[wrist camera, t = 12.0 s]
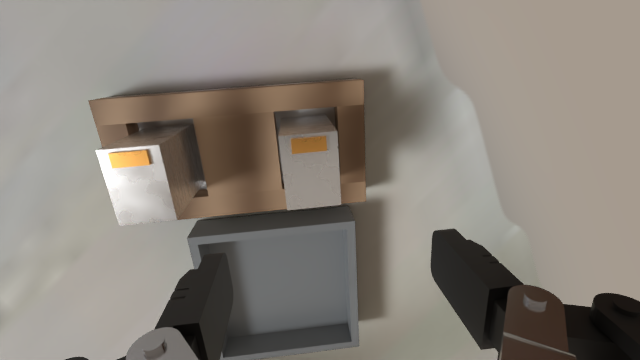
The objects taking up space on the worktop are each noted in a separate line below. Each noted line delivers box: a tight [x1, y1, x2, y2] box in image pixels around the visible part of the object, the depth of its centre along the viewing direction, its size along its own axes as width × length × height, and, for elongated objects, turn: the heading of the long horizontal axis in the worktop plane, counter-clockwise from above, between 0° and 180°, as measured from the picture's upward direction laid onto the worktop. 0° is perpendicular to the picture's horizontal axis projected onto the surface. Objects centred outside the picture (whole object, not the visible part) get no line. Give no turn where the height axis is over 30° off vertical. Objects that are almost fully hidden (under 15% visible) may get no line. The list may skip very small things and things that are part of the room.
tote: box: [187, 206, 359, 360], centre depth 34 cm, size 16×16×4 cm
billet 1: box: [96, 124, 205, 226], centre depth 26 cm, size 4×6×8 cm
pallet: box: [89, 78, 366, 220], centre depth 29 cm, size 22×11×3 cm, turn 94°
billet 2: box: [278, 114, 341, 210], centre depth 26 cm, size 4×6×8 cm
